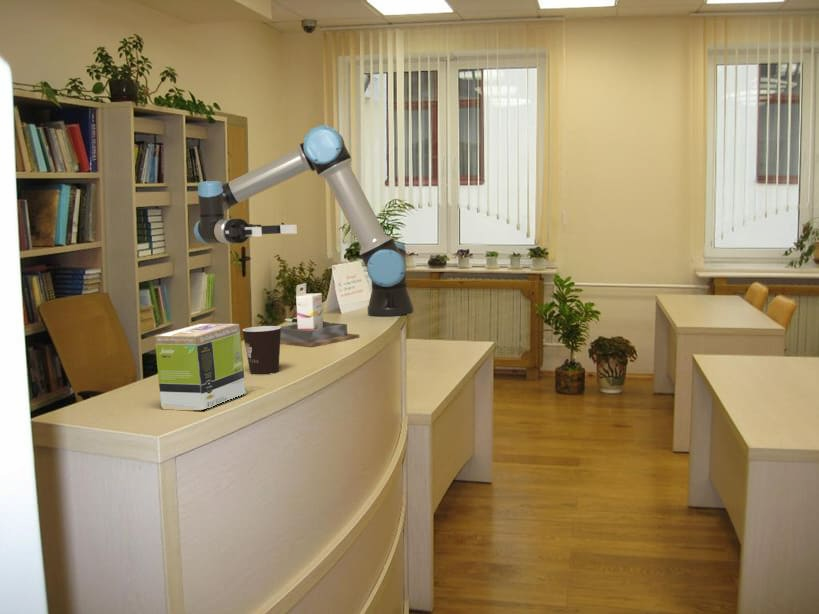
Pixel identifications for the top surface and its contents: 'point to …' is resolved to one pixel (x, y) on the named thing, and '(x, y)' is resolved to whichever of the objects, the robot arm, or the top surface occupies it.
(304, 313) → the ink cartridge box
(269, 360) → the coffee mug
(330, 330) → the cartridge holder
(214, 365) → the tea box
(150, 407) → the top surface
